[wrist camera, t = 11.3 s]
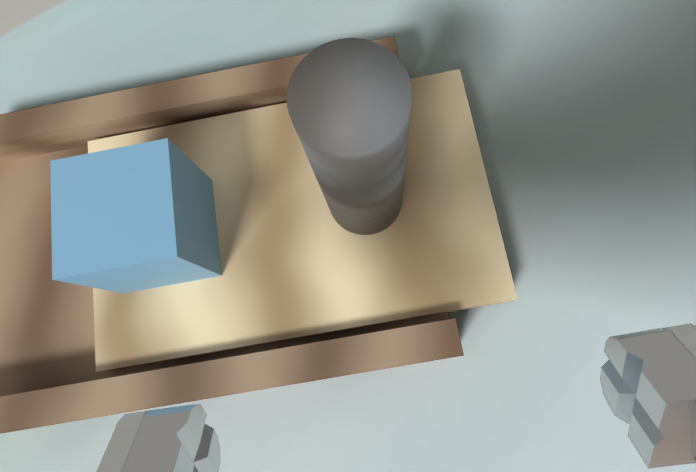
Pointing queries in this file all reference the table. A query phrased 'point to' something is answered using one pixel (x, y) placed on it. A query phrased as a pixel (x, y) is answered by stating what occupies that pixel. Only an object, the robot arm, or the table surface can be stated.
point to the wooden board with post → (324, 214)
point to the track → (77, 301)
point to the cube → (132, 219)
